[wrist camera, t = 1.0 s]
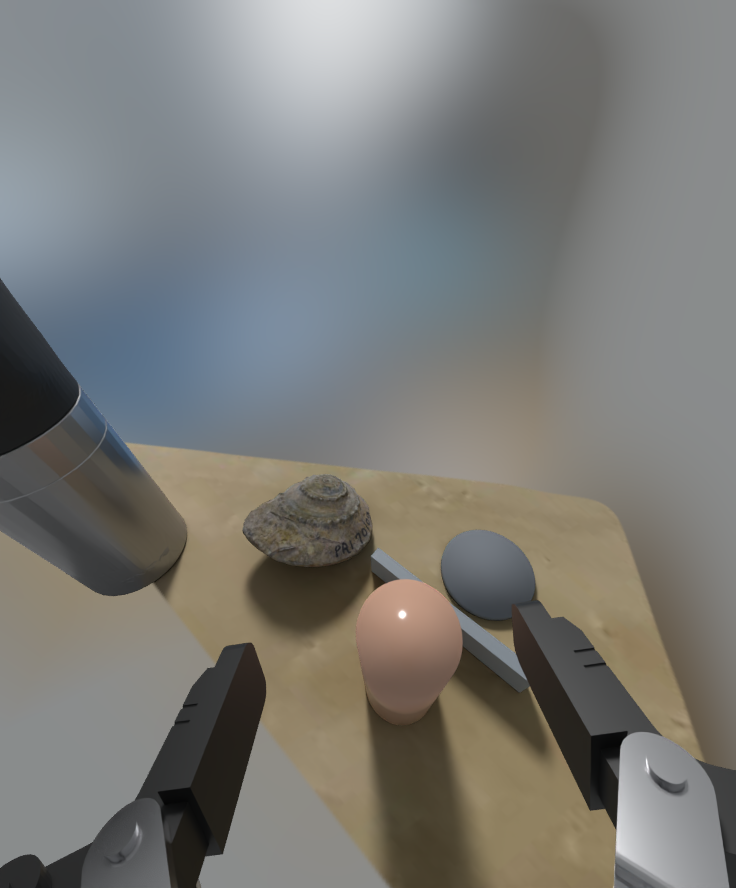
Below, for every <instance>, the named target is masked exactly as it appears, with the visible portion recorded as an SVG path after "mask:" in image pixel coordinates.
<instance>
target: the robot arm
mask: <svg viewBox="0 0 736 888" xmlns="http://www.w3.org/2000/svg"><path fill="white" fill-rule="evenodd" d="M0 531H1V532H3V533H5V534H6V535H8V536H9V537H11V538H12V539H14V540H16V541H17V542H19V543H20V544H22V545H23V546H25V547H26V548H28V549H30V550H31V551H33V552H34V553H36V554H37V555H39V556H41V557H42V558H44V559H45V560H47V561H48V562H50V563H51V564H53V565H54V566H56V567H58V568H59V569H61V570H62V571H64V572H65V573H66V574H68V575H70V576H71V577H73V578H74V579H76V580H78V581H79V582H80V583H82V584H84V585H85V586H87V587H88V588H90V589H91V590H93V591H95V592H97V593H100V594H102V595H108V596H118V595H125V594H128V593H132V592H135V591H138V590H140V589H142V588H143V587H146V586H148V585H149V584H151V583H153V582H154V581H155V580H157V579H158V578H160V577H161V576H162V575H163V574H164V573H165V572H166V571H168V570H169V569H170V567H171V566H172V565H173V564H174V563H175V561H176V560H177V559H178V557H179V555H180V554H181V552H182V550H183V548H184V545H185V542H186V537H187V528H186V524H185V522H184V519H183V518H182V517H181V515H180V514H179V513H178V511H177V510H176V509H175V508H174V506H173V505H172V504H171V502H170V501H169V500H168V499H167V497H166V496H165V494H164V493H163V492H162V491H161V489H160V488H159V487H158V485H157V484H156V483H155V482H154V480H153V479H152V478H151V476H150V475H149V474H148V472H147V471H146V470H145V469H144V467H143V466H142V465H141V463H140V462H139V461H138V460H137V458H136V457H135V456H134V454H133V453H132V452H131V451H130V449H129V448H128V447H127V445H126V444H125V443H124V442H123V440H122V439H121V438H120V436H119V435H118V434H117V433H116V431H115V430H114V429H113V427H112V426H111V425H110V423H109V422H108V421H107V420H106V418H105V417H104V416H103V415H102V414H101V412H100V411H99V410H98V408H97V407H96V406H95V405H94V403H93V402H92V401H91V399H90V398H89V397H88V396H87V394H86V393H85V392H84V390H83V389H82V388H81V387H80V385H79V384H78V383H77V381H76V380H75V379H74V377H73V376H72V375H71V374H70V372H69V371H68V370H67V369H66V367H65V366H64V365H63V363H62V362H61V361H60V359H59V358H58V357H57V355H56V354H55V352H54V351H53V350H52V348H51V347H50V345H49V344H48V343H47V341H46V340H45V338H44V337H43V336H42V334H41V333H40V332H39V330H38V329H37V328H36V326H35V325H34V324H33V322H32V321H31V320H30V318H29V317H28V316H27V314H26V313H25V312H24V311H23V309H22V308H21V306H20V305H19V304H18V302H17V301H16V300H15V298H14V297H13V296H12V294H11V293H10V291H9V290H8V289H7V287H6V286H5V284H4V283H3V282H2V280H1V279H0ZM512 623H513V638H514V647H515V651H516V655H517V658H518V661H519V664H520V666H521V668H522V670H523V672H524V675H525V677H526V679H527V681H528V683H529V685H530V687H531V689H532V691H533V693H534V695H535V697H536V700H537V702H538V704H539V706H540V708H541V710H542V712H543V714H544V716H545V718H546V720H547V722H548V724H549V727H550V729H551V731H552V733H553V735H554V737H555V739H556V741H557V743H558V745H559V747H560V749H561V751H562V754H563V756H564V758H565V760H566V762H567V764H568V766H569V768H570V770H571V772H572V774H573V776H574V778H575V781H576V783H577V785H578V787H579V789H580V791H581V793H582V795H583V797H584V799H585V801H586V803H587V805H588V808H589V810H590V811H591V810H599V809H606V811H607V813H608V815H609V817H610V819H611V821H612V823H613V825H614V827H615V829H616V849H615V871H614V888H736V770H731V769H726V768H722V767H717V766H713V765H710V764H707V763H704V762H702V761H699V760H697V759H695V758H693V757H692V756H691V755H690V754H689V753H688V752H687V751H686V750H684V749H683V748H682V747H680V746H679V745H677V744H676V743H674V742H672V741H671V740H669V739H667V738H665V737H663V736H662V735H661V734H660V733H659V732H658V731H657V730H656V729H655V727H654V726H653V725H652V724H651V722H650V721H649V720H648V718H647V717H646V716H645V714H644V713H643V712H642V710H641V709H640V708H639V706H638V705H637V704H636V702H635V701H634V700H633V698H632V697H631V696H630V694H629V693H628V692H627V690H626V689H625V688H624V686H623V685H622V684H621V682H620V681H619V680H618V678H617V677H616V676H615V674H614V673H613V672H612V671H611V669H610V668H609V667H608V666H606V663H605V661H604V660H603V659H602V657H601V656H600V655H599V653H598V652H597V651H595V649H594V647H593V645H592V644H591V643H590V641H589V640H588V639H587V637H586V636H585V635H584V633H583V632H582V631H581V630H580V629H579V628H578V627H576V626H575V625H573V624H572V623H571V622H569V621H568V620H567V619H565V618H564V617H558V618H551V617H550V615H549V614H548V612H547V611H546V609H545V608H544V606H543V605H542V604H541V602H540V601H538V600H535V601H528V602H522V603H515V604H512ZM265 698H266V681H265V677H264V674H263V671H262V668H261V665H260V662H259V659H258V657H257V654H256V651H255V648H254V645H253V644H252V643H243V644H236V645H230V646H226V647H225V648H224V649H223V650H222V652H221V654H220V657H219V659H218V661H217V663H216V665H215V667H213V668H207V670H206V671H205V672H204V673H203V674H202V675H201V677H200V678H199V679H198V680H197V682H196V683H195V684H194V685H193V686H192V688H191V690H190V692H189V694H188V696H187V698H186V700H185V702H184V704H183V709H181V710H180V712H179V714H178V716H177V718H176V720H175V725H174V726H173V727H172V728H171V730H170V732H169V734H168V736H167V738H166V740H165V742H164V744H163V746H162V748H161V750H160V752H159V754H158V756H157V758H156V760H155V762H154V764H153V766H152V768H151V770H150V772H149V774H148V776H147V778H146V780H145V782H144V784H143V786H142V788H141V790H140V792H139V794H138V796H137V797H136V799H135V801H133V802H132V803H130V804H128V805H126V806H125V807H124V808H122V809H121V810H120V811H118V812H117V813H116V814H115V815H114V816H113V817H112V818H111V819H110V820H109V821H108V822H107V823H106V824H105V826H104V827H103V828H102V829H101V831H100V832H99V833H98V835H97V837H96V838H95V840H94V841H93V842H92V843H90V844H89V845H87V846H85V847H83V848H81V849H79V850H77V851H75V852H74V853H71V854H69V855H68V856H66V857H64V858H62V859H60V860H58V861H56V862H54V863H52V864H50V865H48V866H46V867H45V866H44V865H43V864H42V862H41V861H40V860H39V858H38V857H36V856H35V855H31V854H30V855H23V856H20V857H18V858H16V859H14V860H12V861H10V862H8V863H7V864H5V865H4V866H2V867H1V868H0V888H201V884H200V881H199V879H198V878H199V875H200V871H201V868H202V865H203V861H204V858H205V856H212V855H220V854H223V851H224V848H225V844H226V840H227V837H228V833H229V830H230V826H231V822H232V819H233V815H234V812H235V808H236V804H237V801H238V797H239V793H240V790H241V786H242V782H243V779H244V775H245V772H246V768H247V764H248V761H249V757H250V754H251V750H252V746H253V743H254V739H255V735H256V732H257V729H258V725H259V721H260V718H261V714H262V711H263V707H264V703H265Z"/></svg>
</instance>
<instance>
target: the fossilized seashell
mask: <svg viewBox="0 0 736 888" xmlns="http://www.w3.org/2000/svg"><path fill="white" fill-rule="evenodd" d="M371 532H372V522H371V517H370V514H369V507H368V505H367V503H366V502H365V501H364V499H363V498H362V497H360V496H359V495H358V494H357V493H356V492H355V489H354V488H353V487H351V486H350V485H349V484H348V483H347V482H344V481H342V480H341V479H339V478H337V477H336V476H333V475H326V474H324V475H313V476H311V477H306V478H305V479H304V480H303V481H301V482H298V483H296V484H294V485H292V486H291V487H289V488H288V489H287V490H286V491H285V492H284V493H279V494H278V495H277V496H276V497H275V498H274V499H272V500H269V501H267V502H265V503H263V504H262V505H260V506H259V507H257V508H256V509H255V510H254V511H251V512H250V513H249V515H248V516H247V518H246V519H245V522H244V527H243V533H244V535H245V536H246V538H247V539H248V541H249V542H250V543H251V544H252V545H254V546H255V547H256V548H257V549H258V550H260V551H261V552H263V553H264V554H266V555H267V556H269V557H270V558H272V559H274V560H275V561H279V562H283V563H286V564H289V565H294V566H303V567H320V566H330V565H333V564H337V563H341V562H344V561H346V560H348V559H350V558H351V557H353V556H355V555H357V554H359V553H360V551H361V550H362V549H363V548H364V547H365V546H366V544H368V543H369V541H370V538H371Z"/></svg>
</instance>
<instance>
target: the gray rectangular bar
mask: <svg viewBox="0 0 736 888" xmlns="http://www.w3.org/2000/svg"><path fill="white" fill-rule="evenodd" d="M371 569H372V572H373V573H375V574H376V575H377V576H378V577H379V578H381V579H382V580H383V581H384V582H385V583H388V582H391V581H394V580H400V579H410V580H416V581H420V582H422V581H421V580H420V579H418V578H417V577H416V576H414V575H413V574H412V573H410V572H409V571H408V570H407V569H405V568H404V567H403V566H401V565H400V564H399V563H398V562H396V561H395V560H394V559H392V558H391V557H390V556H388V555H387V554H386V553H385V552H383V551H382V550H381V549H379V548H377V550H376V551H375V552H374V553H373V554H372V555H371ZM450 604H451V603H450ZM451 606H452V607H453V609H454V611H455V612H456V615H457V617H458V619H459V623H460V626H461V631H462V640H463V645H462V646H463V647H464V648H466V649H467V650H468V651H469V652H470V653H472V654H473V655H474V656H475V657H476V658H478V659H479V660H480V661H481V662H483V663H484V664H485V665H486V666H487V667H489V668H490V669H491V670H492V671H493V672H495V673H496V674H497V675H498V676H500V677H501V678H502V679H503V680H504V681H506V682H507V683H508V684H509V685H510V686H512V687H513V688H514V689H515V690H517V691H518V692H519V693H520V692H521V691H523V690H525V689H526V688H528V687H529V686H530V685H529V683H528V681H527V679H526V677H525V675H524V672H523V670H522V668H521V666H520V664H519V661H518V658H517V655H516V654H515V653H514V652H513V651H512V650H510V649H509V648H508V647H506V646H505V645H504V644H502V643H501V642H500V641H499V640H497V639H496V638H495V637H493V636H492V635H491V634H490V633H488V632H487V631H486V630H484V629H483V628H482V627H480V626H479V625H478V624H477V623H475V622H474V621H473V620H471V619H470V618H469V617H467V616H466V615H465V614H464V613H462V612H461V611H460V610H458V609H457V608H456V607H455V606H453V605H452V604H451Z"/></svg>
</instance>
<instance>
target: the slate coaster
mask: <svg viewBox="0 0 736 888" xmlns="http://www.w3.org/2000/svg"><path fill="white" fill-rule="evenodd" d="M441 574H442V579H443V582H444V585H445V587H446V589H447V591H448V592H449V594H450V595H451V597H452V598H453V599H454V600H455V601H456V602H457V604H459V605H460V606H461V607H462V608H463V609H465V610H466V611H468V612H469V613H471V614H473V615H475V616H477V617H480V618H483V619H487V620H494V621H497V620H507V619H510V618H512V604H515V603H522V602H528V601H531V600H532V597H533V595H534V591H535V577H534V572H533V569H532V566H531V564H530V562H529V560H528V559H527V557H526V556H525V554H524V553H523V552H522V550H521V549H520V548H519V547H518V546H517V545H515V544H514V543H513V542H512V541H510V540H509V539H507V538H505V537H504V536H502V535H499V534H497V533H494V532H491V531H486V530H471V531H466V532H463V533H461V534H459V535H457V536H456V537H454V538H453V539H452V540H451V541H450V542H449V543H448V545H447V546H446V548H445V550H444V553H443V556H442V560H441Z"/></svg>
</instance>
